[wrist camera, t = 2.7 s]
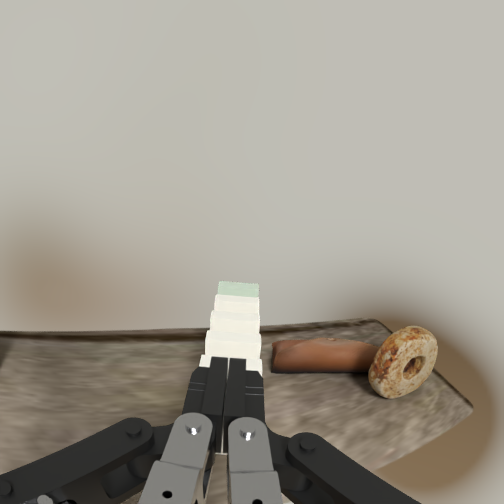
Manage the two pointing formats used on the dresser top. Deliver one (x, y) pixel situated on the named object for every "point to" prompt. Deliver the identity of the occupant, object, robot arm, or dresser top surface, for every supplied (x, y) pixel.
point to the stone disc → (403, 362)
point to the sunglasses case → (322, 356)
